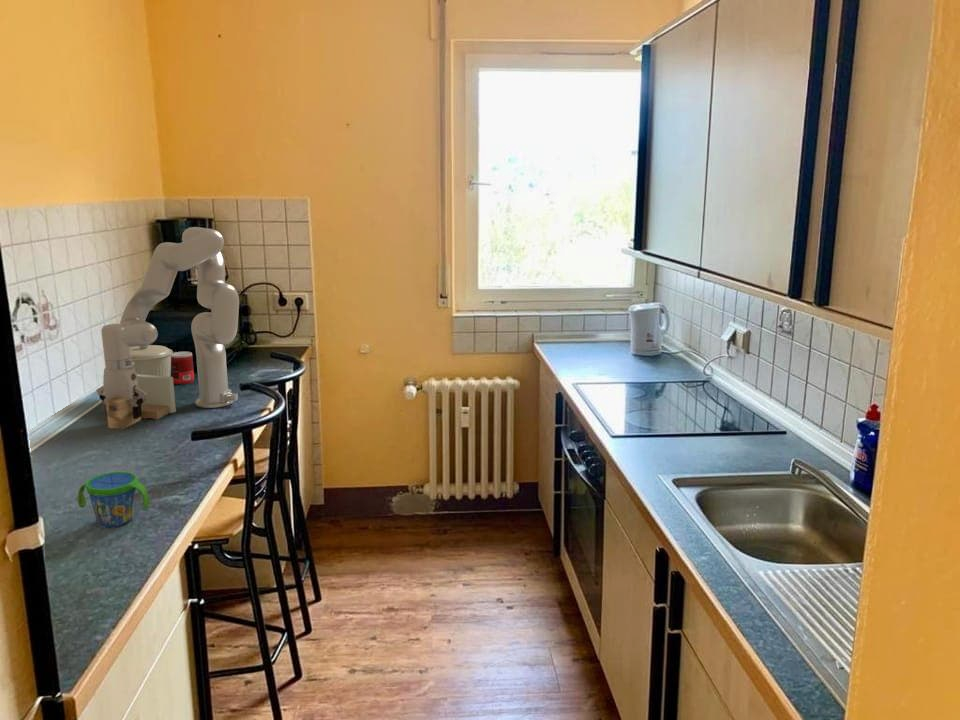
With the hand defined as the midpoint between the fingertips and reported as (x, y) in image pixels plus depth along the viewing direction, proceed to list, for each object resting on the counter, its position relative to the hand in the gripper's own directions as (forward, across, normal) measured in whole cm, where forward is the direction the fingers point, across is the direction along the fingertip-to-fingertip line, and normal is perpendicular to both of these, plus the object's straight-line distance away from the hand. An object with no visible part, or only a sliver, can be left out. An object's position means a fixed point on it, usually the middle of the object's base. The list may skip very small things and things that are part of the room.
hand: (124, 416), depth 240 cm
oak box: (+3, 0, 0) cm, 3 cm away
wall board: (+3, +2, -11) cm, 11 cm away
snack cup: (+3, -43, +60) cm, 74 cm away
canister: (+3, +10, -26) cm, 28 cm away
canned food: (+3, +11, -48) cm, 49 cm away
